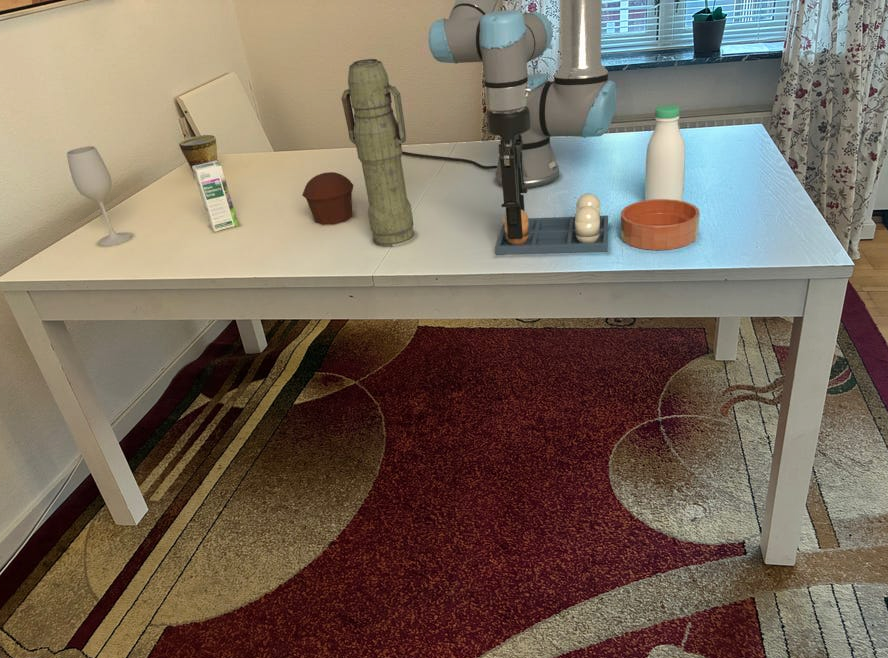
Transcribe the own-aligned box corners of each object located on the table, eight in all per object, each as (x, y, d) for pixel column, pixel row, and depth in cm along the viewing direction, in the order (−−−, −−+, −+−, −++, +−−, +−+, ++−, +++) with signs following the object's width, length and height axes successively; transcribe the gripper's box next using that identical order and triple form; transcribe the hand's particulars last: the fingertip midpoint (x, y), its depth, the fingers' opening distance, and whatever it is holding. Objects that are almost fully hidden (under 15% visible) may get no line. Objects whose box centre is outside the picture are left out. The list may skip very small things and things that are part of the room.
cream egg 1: (572, 230, 147) (571, 193, 143) (592, 224, 148) (591, 188, 144) (585, 237, 143) (584, 200, 139) (605, 231, 144) (605, 194, 140)
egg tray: (505, 228, 152) (504, 219, 151) (608, 224, 148) (608, 215, 147) (496, 256, 140) (495, 247, 139) (607, 253, 136) (607, 243, 135)
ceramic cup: (232, 170, 210) (222, 135, 205) (205, 182, 204) (194, 146, 198) (202, 167, 217) (192, 133, 212) (175, 178, 210) (164, 143, 205)
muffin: (340, 205, 175) (332, 163, 170) (368, 213, 168) (361, 171, 163) (298, 221, 169) (289, 179, 163) (326, 231, 162) (317, 187, 156)
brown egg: (502, 244, 144) (498, 208, 140) (522, 238, 145) (520, 202, 141) (513, 252, 140) (510, 215, 136) (534, 246, 142) (531, 209, 138)
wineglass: (110, 248, 167) (75, 156, 156) (91, 243, 171) (55, 154, 160) (138, 235, 172) (106, 146, 161) (118, 231, 176) (86, 144, 165)
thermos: (374, 230, 159) (343, 59, 141) (426, 229, 156) (402, 54, 138) (360, 246, 152) (326, 68, 134) (414, 246, 149) (387, 64, 131)
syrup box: (214, 232, 168) (195, 170, 161) (209, 225, 173) (191, 164, 165) (239, 226, 170) (221, 164, 163) (233, 219, 175) (216, 158, 167)
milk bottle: (683, 211, 150) (689, 111, 139) (644, 212, 152) (647, 113, 141) (681, 198, 156) (687, 101, 146) (644, 199, 158) (647, 103, 147)
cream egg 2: (570, 243, 141) (569, 206, 137) (591, 237, 142) (590, 200, 139) (584, 251, 137) (583, 213, 133) (604, 245, 139) (604, 207, 135)
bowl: (606, 235, 144) (606, 210, 141) (665, 217, 148) (666, 193, 145) (651, 259, 132) (652, 233, 130) (713, 239, 137) (715, 213, 134)
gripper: (524, 120, 121) (532, 251, 133) (533, 95, 135) (540, 214, 148) (479, 123, 122) (491, 252, 135) (493, 97, 137) (503, 216, 149)
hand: (517, 232), depth 141 cm, fingers closed on brown egg, 4 cm apart
